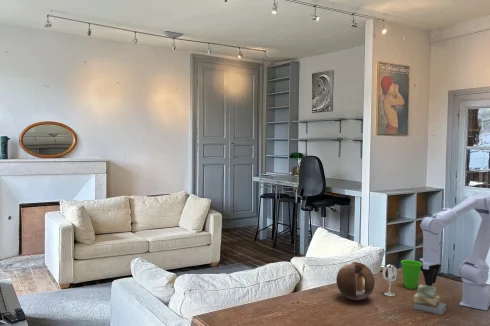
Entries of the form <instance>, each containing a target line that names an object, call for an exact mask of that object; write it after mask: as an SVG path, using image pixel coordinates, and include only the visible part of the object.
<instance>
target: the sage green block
mask: <svg viewBox="0 0 490 326" xmlns="http://www.w3.org/2000/svg"><path fill="white" fill-rule="evenodd" d="M436 289H437V287H436V286H433V285H432V286H427V285H426V284H419V285H417V293H415V294H414V295H413V301H414V302H421V303H426V304H431V305H436V304H437V303H438V302H440V295H437V293H436V292H437V291H436Z"/></svg>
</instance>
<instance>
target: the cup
mask: <svg viewBox="0 0 490 326" xmlns="http://www.w3.org/2000/svg"><path fill="white" fill-rule="evenodd" d="M400 263H401V266H402V267H401V268H402V275H403V276H402V279H403V285H404V287H405V288H406V289H412V290H414V289H417V288H418V285H419V279H420V275H421V272H422V271H421V269H420V266H423V262H422V261H417V260H413V259H403V260H401V261H400Z"/></svg>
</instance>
